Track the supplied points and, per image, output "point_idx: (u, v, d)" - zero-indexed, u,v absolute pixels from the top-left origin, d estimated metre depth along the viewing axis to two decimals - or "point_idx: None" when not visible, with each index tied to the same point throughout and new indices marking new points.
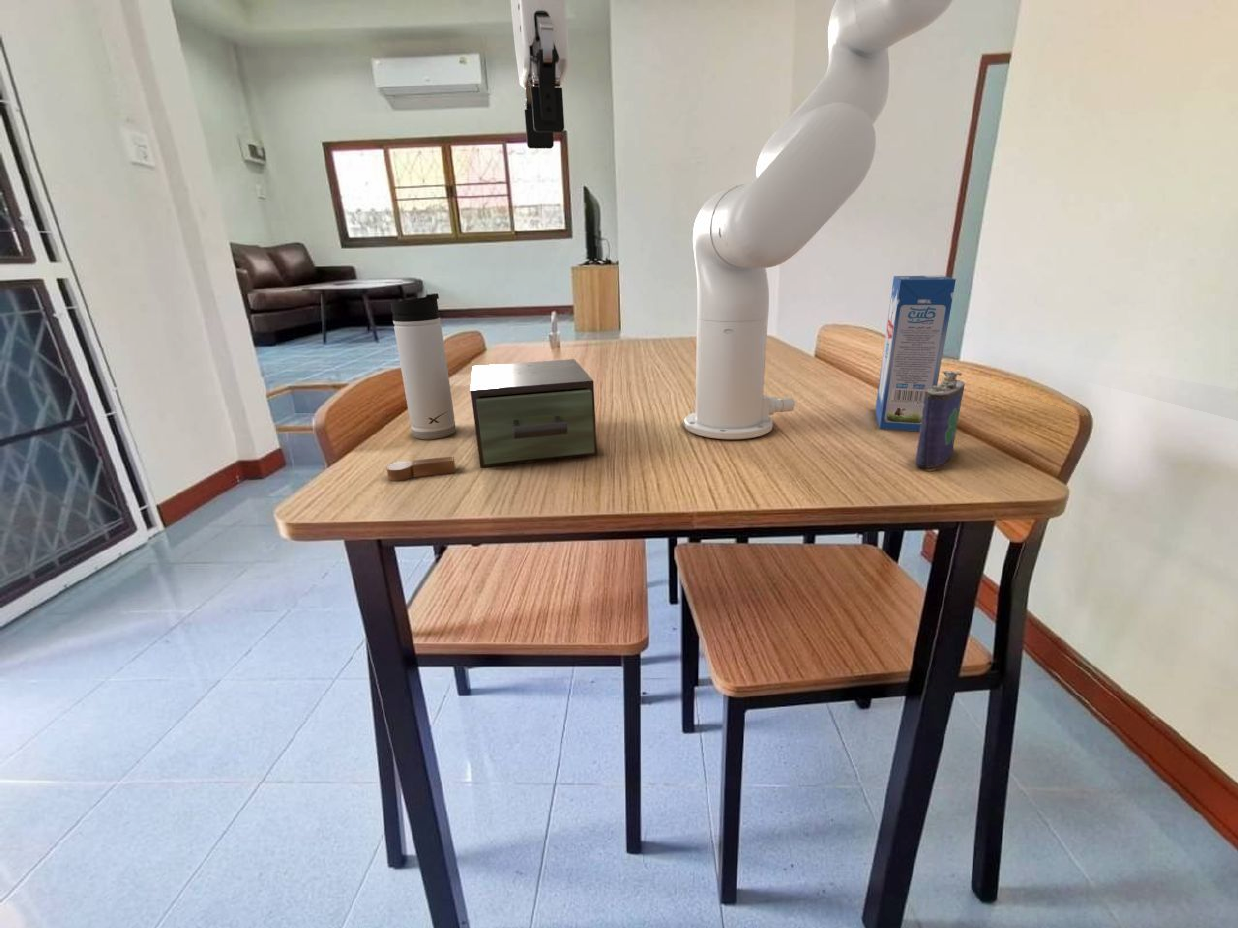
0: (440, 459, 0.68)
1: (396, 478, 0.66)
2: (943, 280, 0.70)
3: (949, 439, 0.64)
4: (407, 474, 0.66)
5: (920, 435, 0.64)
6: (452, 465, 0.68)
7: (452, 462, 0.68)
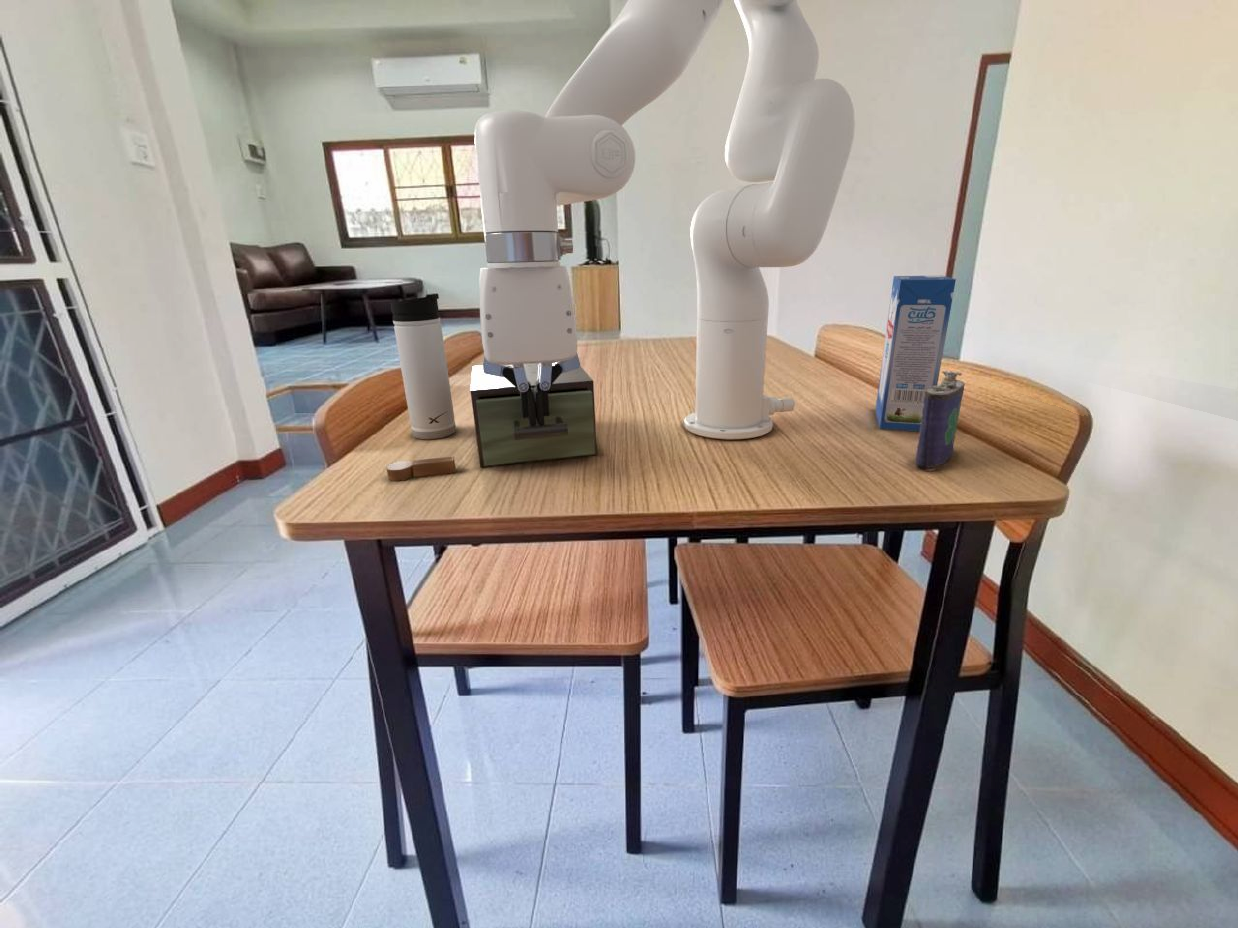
0: (440, 459, 0.68)
1: (396, 478, 0.66)
2: (943, 280, 0.70)
3: (949, 439, 0.64)
4: (407, 474, 0.66)
5: (920, 435, 0.64)
6: (452, 465, 0.68)
7: (452, 462, 0.68)
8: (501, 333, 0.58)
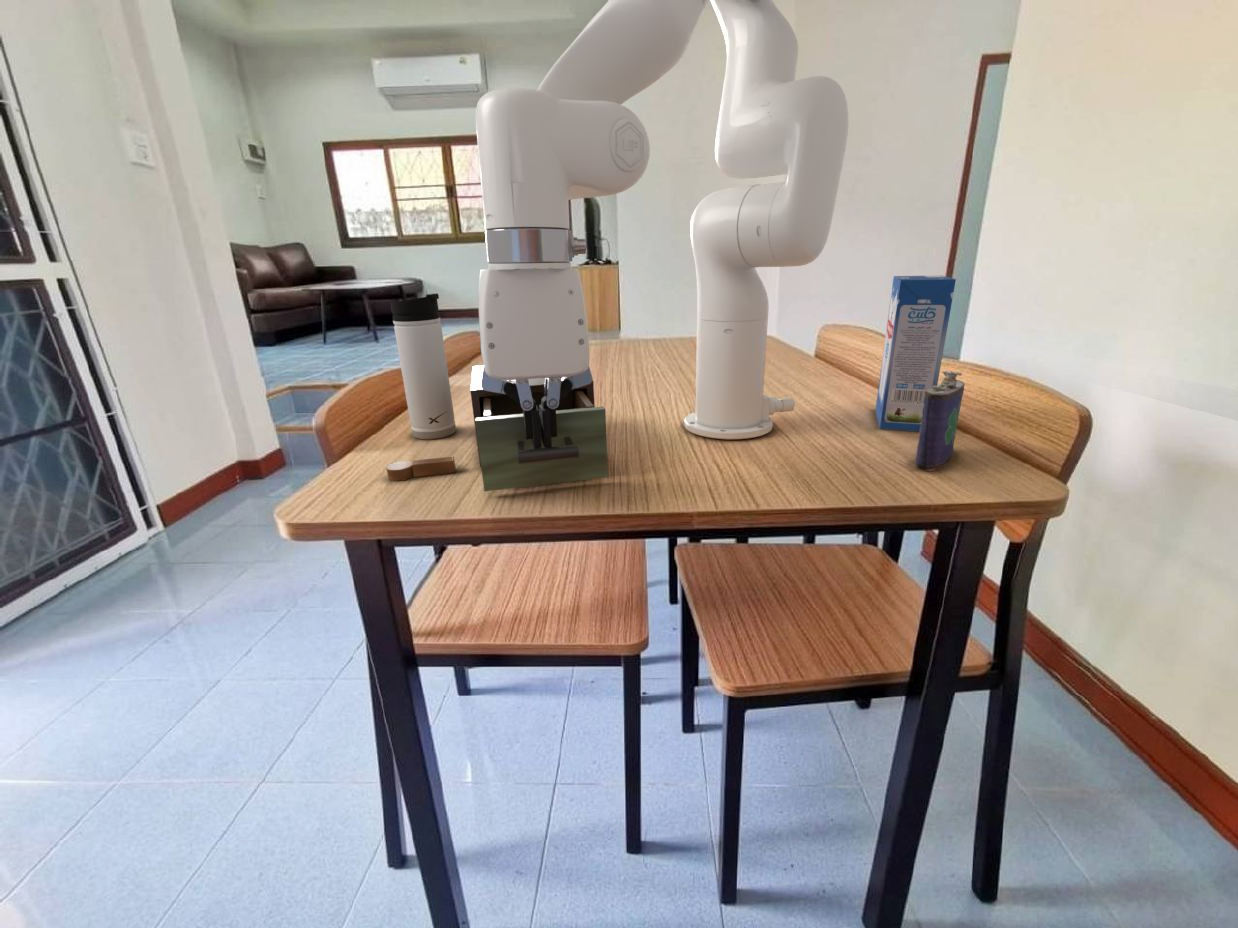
0: (440, 459, 0.68)
1: (396, 478, 0.66)
2: (943, 280, 0.70)
3: (949, 439, 0.64)
4: (407, 474, 0.66)
5: (920, 435, 0.64)
6: (452, 465, 0.68)
7: (452, 462, 0.68)
8: (504, 344, 0.51)
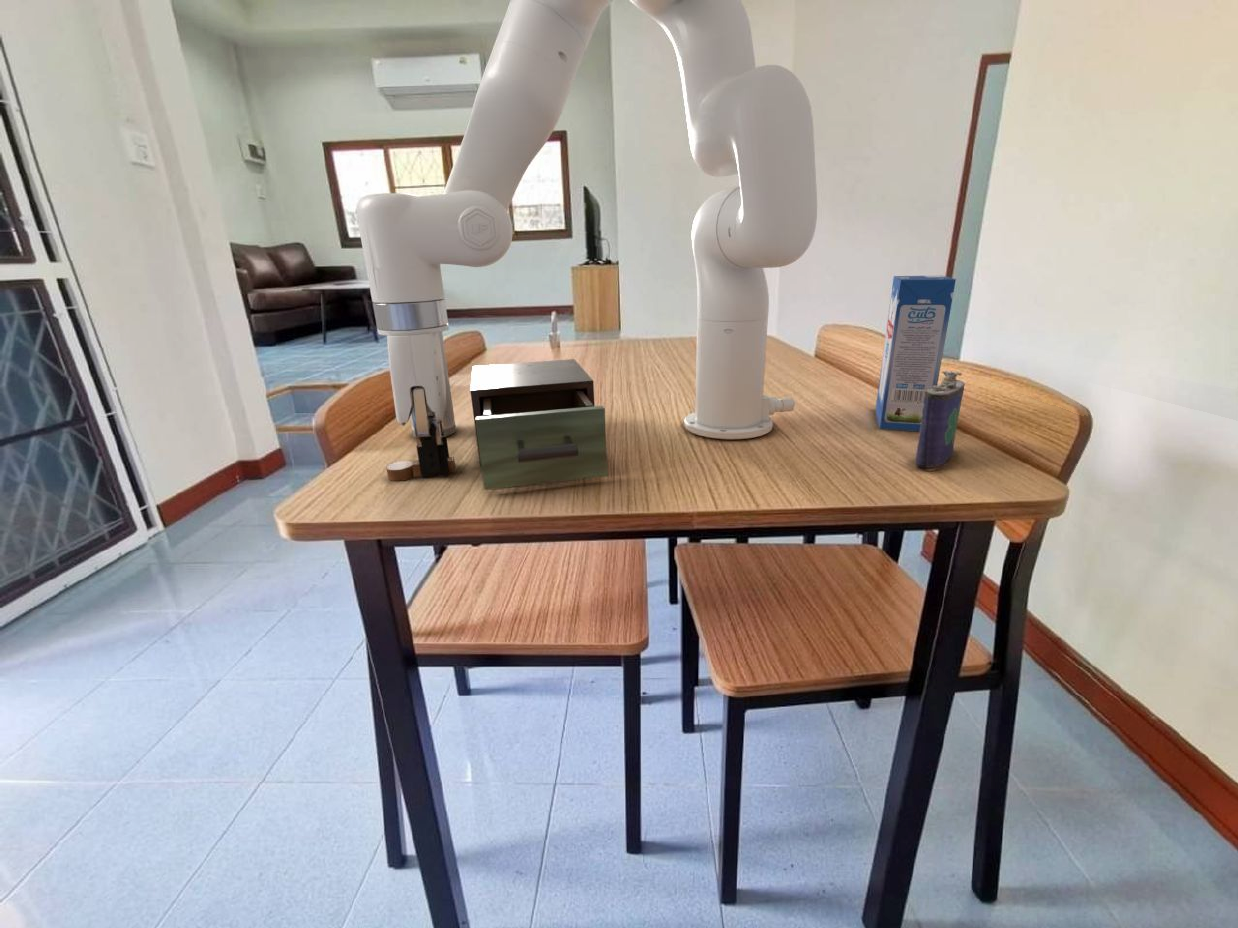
0: None
1: (396, 478, 0.66)
2: (943, 280, 0.70)
3: (949, 439, 0.64)
4: (407, 474, 0.66)
5: (920, 435, 0.64)
6: (452, 465, 0.68)
7: (452, 462, 0.68)
8: (441, 391, 0.62)
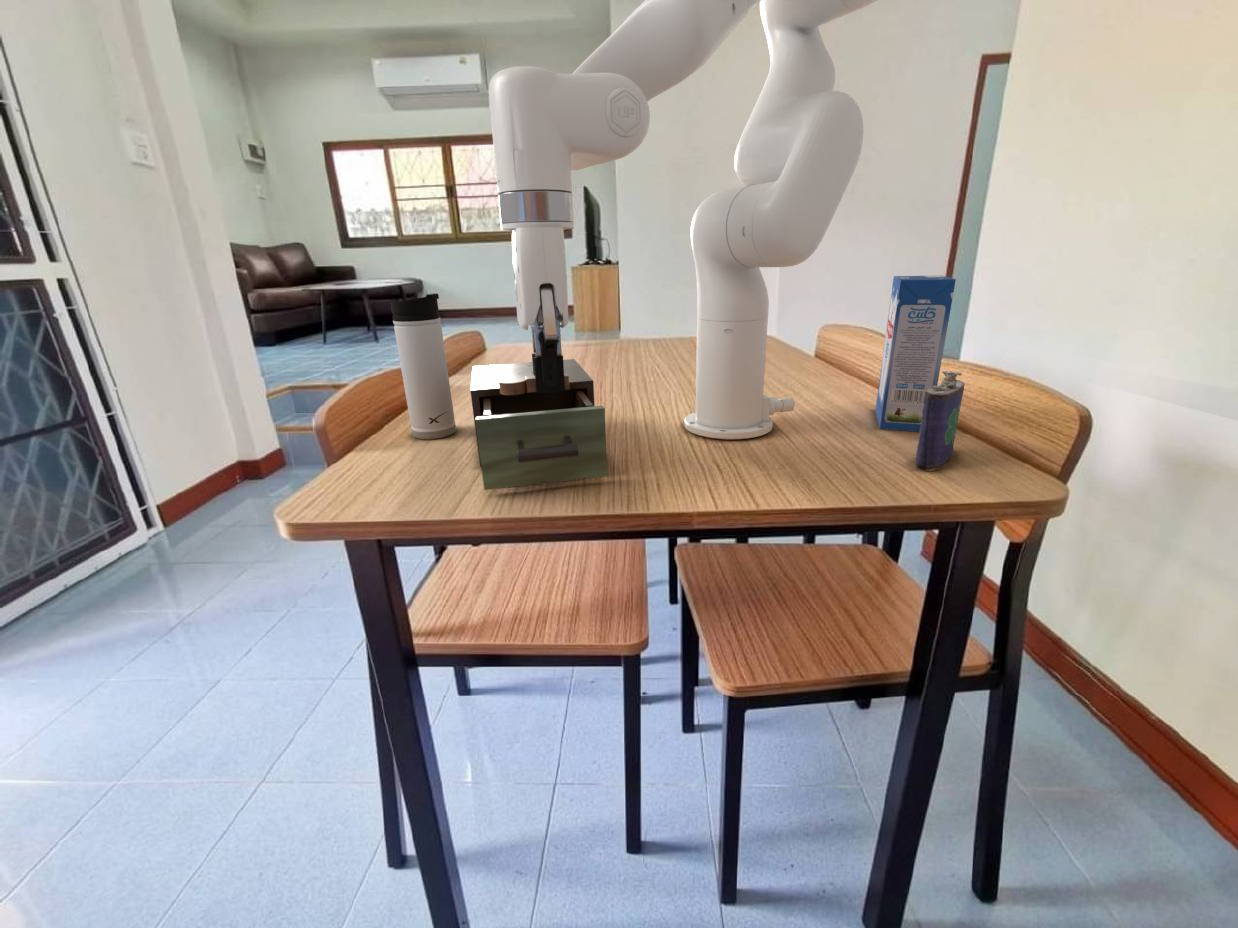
0: None
1: (510, 392, 0.62)
2: (943, 280, 0.70)
3: (949, 439, 0.64)
4: (521, 389, 0.62)
5: (920, 435, 0.64)
6: (567, 381, 0.63)
7: (567, 378, 0.63)
8: None
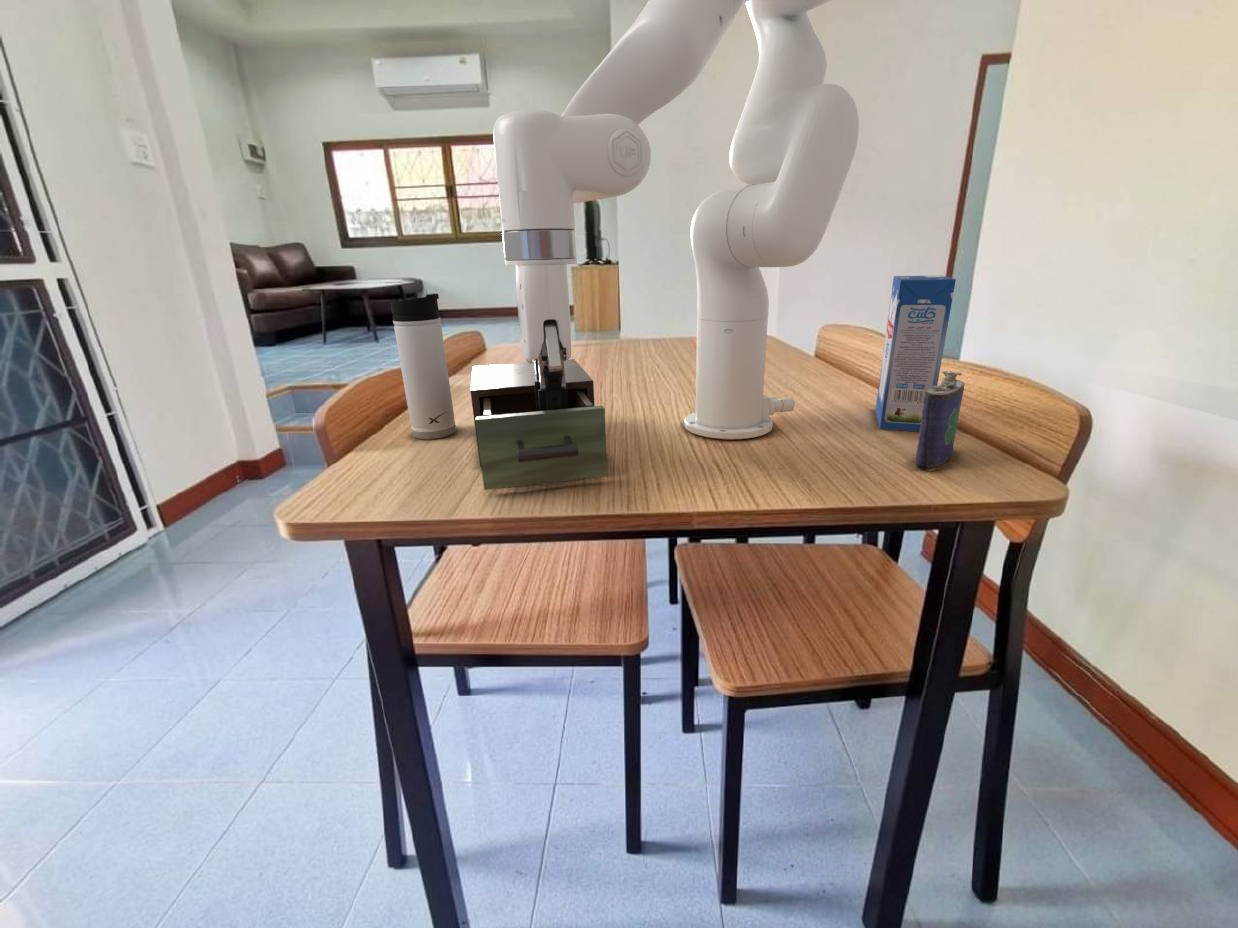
0: None
1: None
2: (943, 280, 0.70)
3: (949, 439, 0.64)
4: None
5: (920, 435, 0.64)
6: None
7: None
8: None
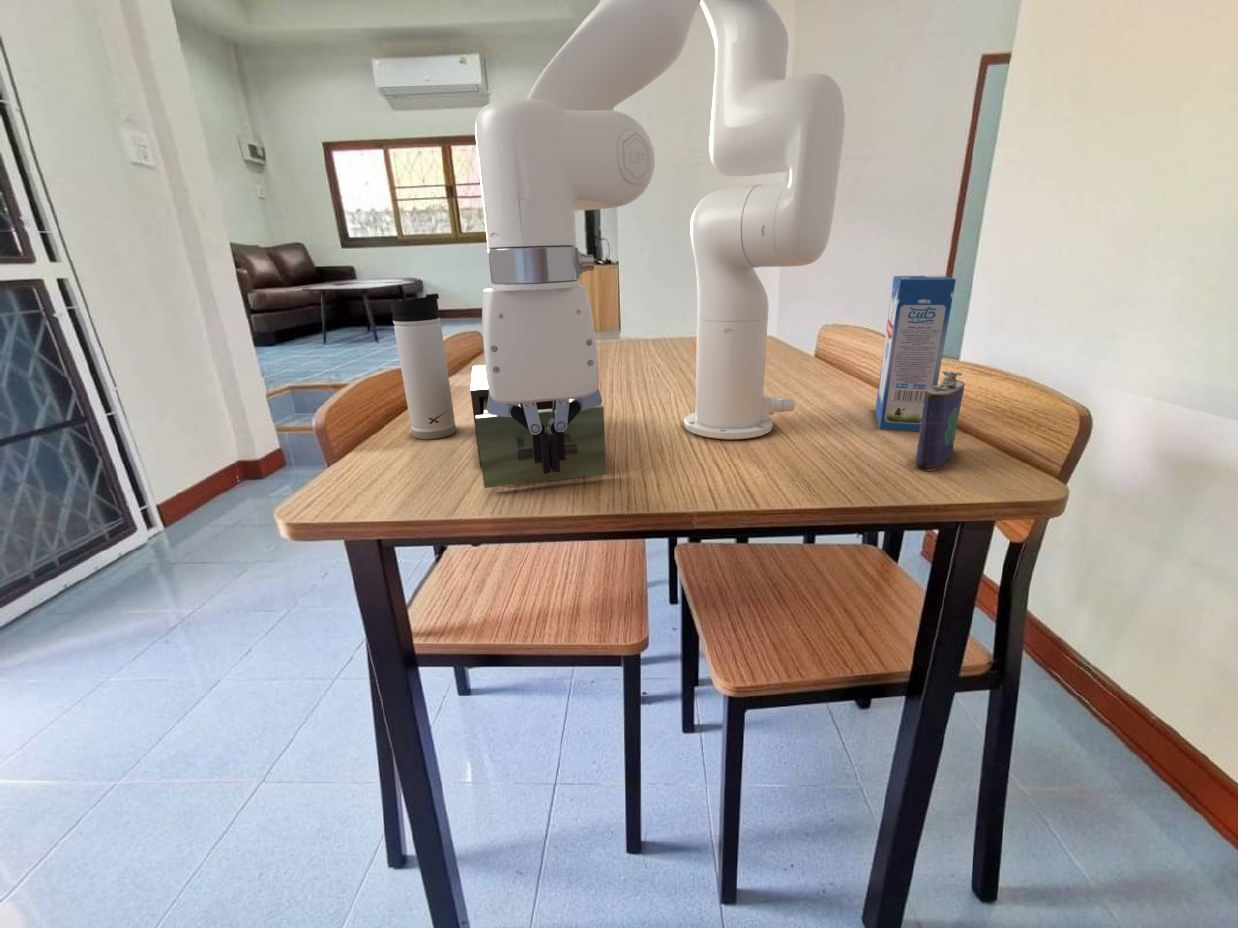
0: None
1: None
2: (943, 280, 0.70)
3: (949, 439, 0.64)
4: None
5: (920, 435, 0.64)
6: None
7: None
8: (509, 367, 0.48)
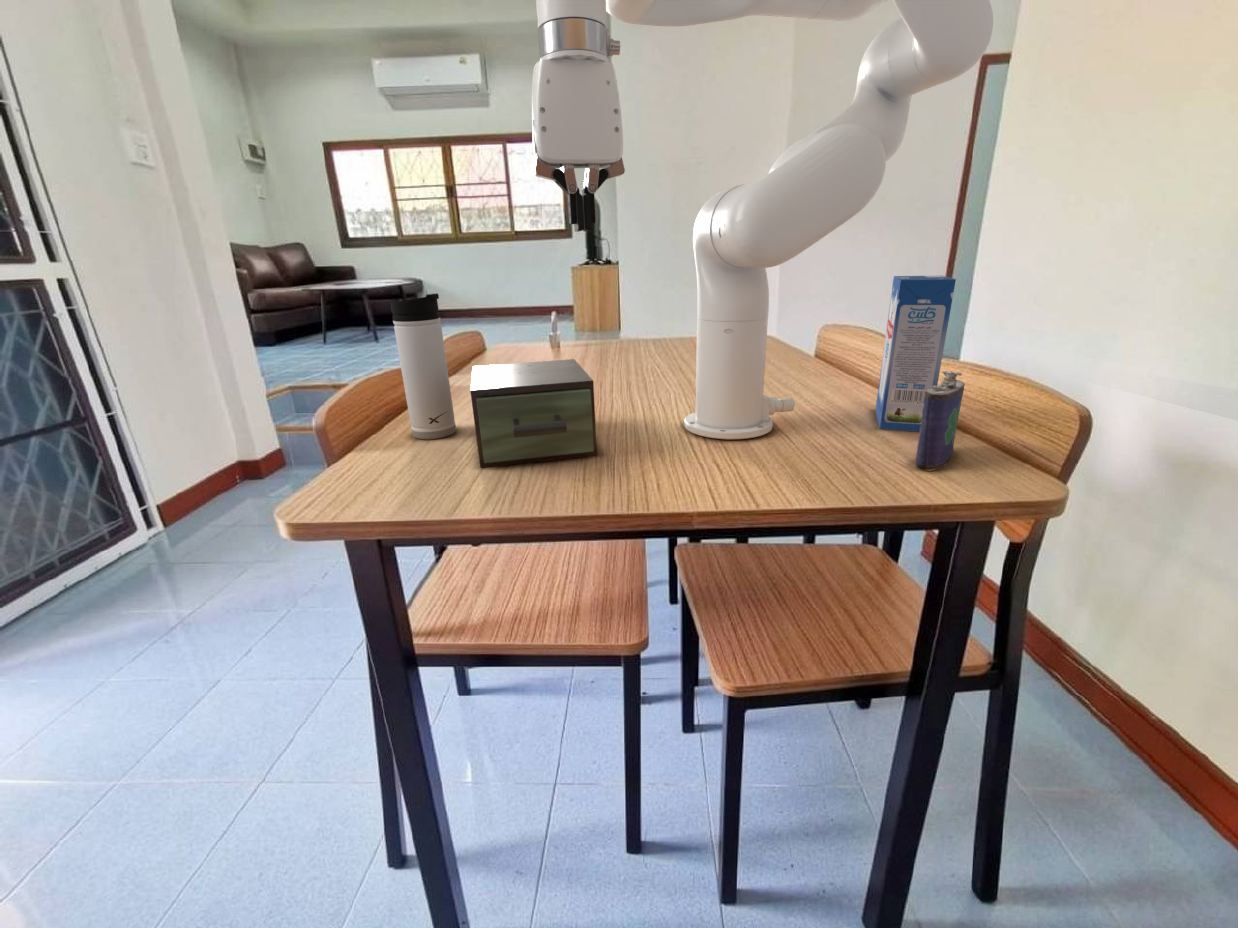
0: None
1: None
2: (943, 280, 0.70)
3: (949, 439, 0.64)
4: None
5: (920, 435, 0.64)
6: None
7: None
8: (554, 127, 0.62)
